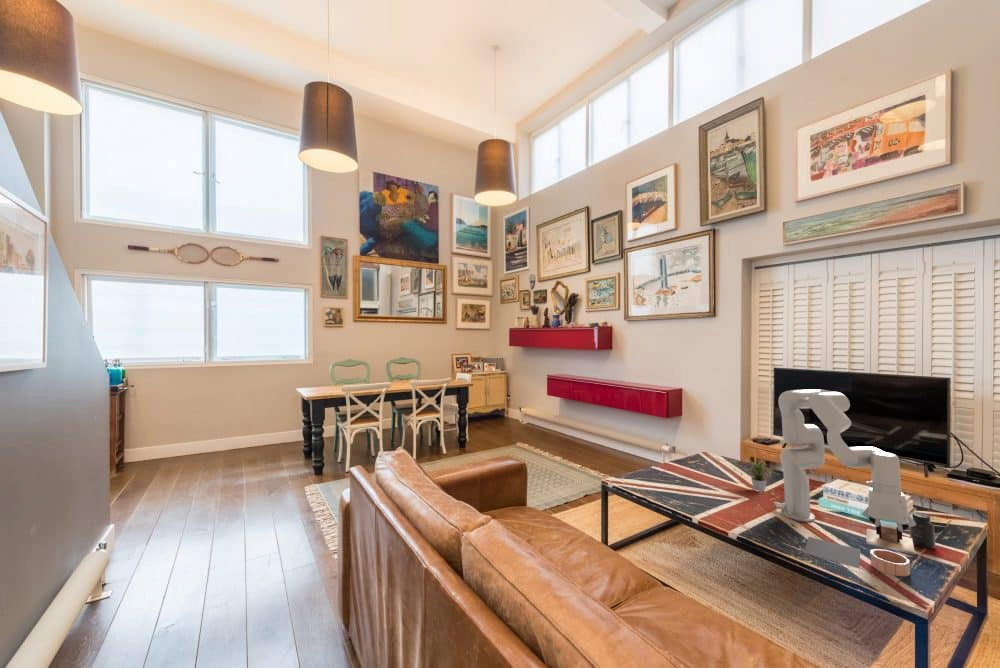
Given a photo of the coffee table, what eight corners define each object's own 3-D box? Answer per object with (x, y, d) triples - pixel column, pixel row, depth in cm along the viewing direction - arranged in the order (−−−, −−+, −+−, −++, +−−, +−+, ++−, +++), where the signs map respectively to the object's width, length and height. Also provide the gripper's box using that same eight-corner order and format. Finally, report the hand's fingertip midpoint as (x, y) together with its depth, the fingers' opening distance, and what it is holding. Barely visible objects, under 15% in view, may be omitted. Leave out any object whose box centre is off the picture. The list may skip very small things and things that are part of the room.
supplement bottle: (940, 550, 153) (939, 519, 153) (920, 549, 155) (918, 518, 155) (925, 540, 160) (923, 511, 160) (905, 540, 161) (904, 510, 161)
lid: (866, 543, 142) (865, 527, 142) (866, 530, 151) (865, 515, 151) (914, 554, 134) (914, 537, 134) (912, 540, 142) (911, 524, 142)
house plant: (747, 482, 227) (745, 454, 227) (776, 488, 218) (774, 458, 218) (740, 490, 217) (739, 460, 217) (771, 496, 207) (769, 465, 207)
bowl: (871, 571, 142) (870, 557, 142) (871, 559, 149) (870, 546, 149) (911, 582, 135) (910, 568, 135) (909, 569, 143) (908, 555, 143)
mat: (804, 555, 154) (804, 553, 154) (808, 539, 165) (808, 536, 165) (859, 571, 143) (859, 568, 143) (860, 552, 154) (860, 549, 154)
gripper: (854, 485, 145) (857, 535, 145) (921, 496, 134) (924, 551, 134) (855, 479, 151) (858, 528, 151) (919, 489, 139) (922, 542, 139)
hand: (889, 538), depth 142 cm, fingers closed on lid, 4 cm apart
